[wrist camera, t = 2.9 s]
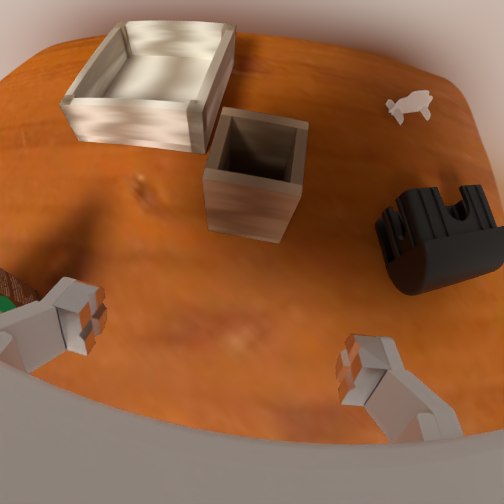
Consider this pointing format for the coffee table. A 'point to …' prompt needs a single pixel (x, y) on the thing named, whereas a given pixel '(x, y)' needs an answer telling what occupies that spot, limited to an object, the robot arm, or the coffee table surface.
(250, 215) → the small crate
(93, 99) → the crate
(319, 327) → the coffee table surface
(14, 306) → the food container
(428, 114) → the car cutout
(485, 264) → the end cap
